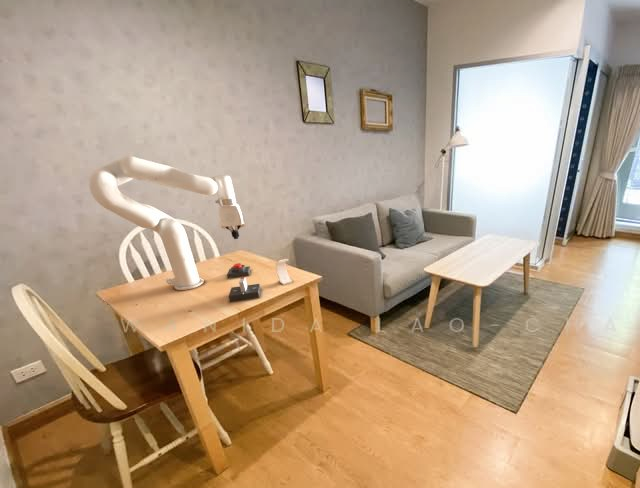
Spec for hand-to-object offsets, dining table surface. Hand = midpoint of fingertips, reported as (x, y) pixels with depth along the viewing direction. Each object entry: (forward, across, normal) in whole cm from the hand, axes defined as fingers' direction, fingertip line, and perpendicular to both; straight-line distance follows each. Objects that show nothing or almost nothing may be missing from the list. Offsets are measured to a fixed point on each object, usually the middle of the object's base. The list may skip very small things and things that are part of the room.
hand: (236, 238), depth 168 cm
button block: (+18, -2, -4) cm, 19 cm away
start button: (+14, -2, -4) cm, 15 cm away
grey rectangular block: (+15, +5, -32) cm, 35 cm away
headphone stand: (+18, +22, -21) cm, 35 cm away
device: (+18, +5, -32) cm, 37 cm away
